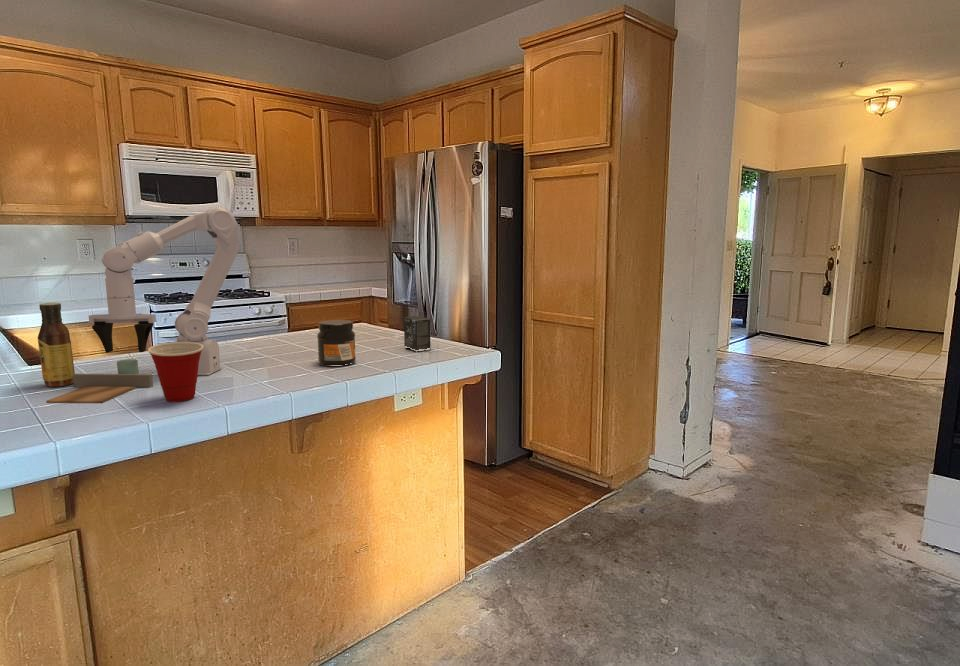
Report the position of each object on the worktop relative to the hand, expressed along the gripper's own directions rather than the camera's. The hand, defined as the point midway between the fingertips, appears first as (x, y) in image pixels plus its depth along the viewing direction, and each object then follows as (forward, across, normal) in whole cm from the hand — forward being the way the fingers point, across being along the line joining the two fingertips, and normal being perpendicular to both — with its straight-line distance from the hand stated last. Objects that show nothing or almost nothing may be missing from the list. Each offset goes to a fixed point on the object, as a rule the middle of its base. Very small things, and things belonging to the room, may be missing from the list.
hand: (125, 351), depth 139 cm
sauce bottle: (+8, +14, +3) cm, 16 cm away
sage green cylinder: (+7, 0, 0) cm, 7 cm away
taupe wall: (+7, +1, +6) cm, 9 cm away
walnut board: (+7, +2, +13) cm, 15 cm away
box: (+7, -73, -34) cm, 80 cm away
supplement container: (+7, -49, -15) cm, 52 cm away
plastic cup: (+8, -19, +18) cm, 27 cm away
